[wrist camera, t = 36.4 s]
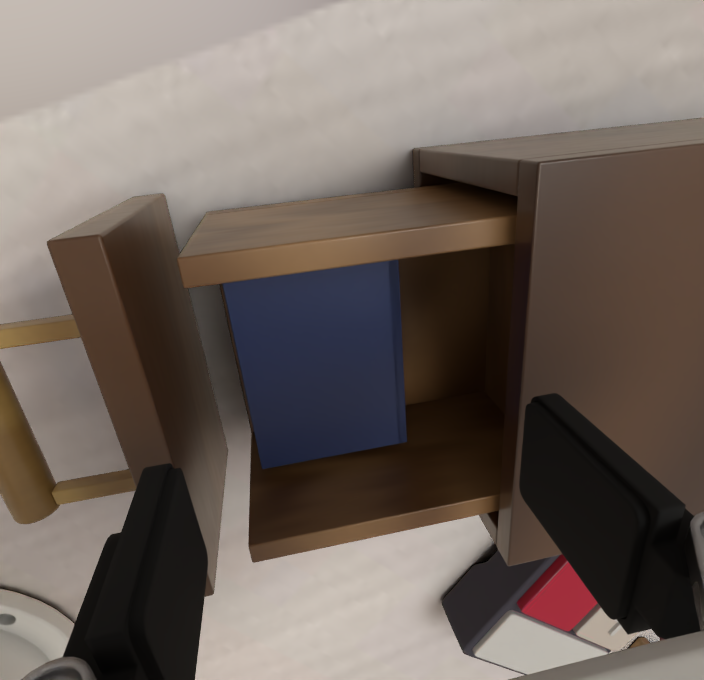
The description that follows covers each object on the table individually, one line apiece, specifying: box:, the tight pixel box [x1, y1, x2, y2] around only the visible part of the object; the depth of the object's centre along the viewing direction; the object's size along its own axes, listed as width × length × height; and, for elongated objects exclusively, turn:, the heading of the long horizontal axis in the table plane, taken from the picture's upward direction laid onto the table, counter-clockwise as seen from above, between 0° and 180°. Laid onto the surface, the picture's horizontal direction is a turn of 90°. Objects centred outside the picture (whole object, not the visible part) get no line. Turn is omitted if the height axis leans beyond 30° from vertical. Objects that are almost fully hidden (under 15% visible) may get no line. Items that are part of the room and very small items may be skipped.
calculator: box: [442, 550, 638, 675], centre depth 30 cm, size 11×4×15 cm
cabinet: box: [413, 118, 704, 566], centre depth 19 cm, size 16×13×10 cm
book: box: [222, 260, 407, 469], centre depth 18 cm, size 8×6×3 cm
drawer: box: [0, 182, 518, 597], centre depth 17 cm, size 20×12×8 cm, turn 95°
